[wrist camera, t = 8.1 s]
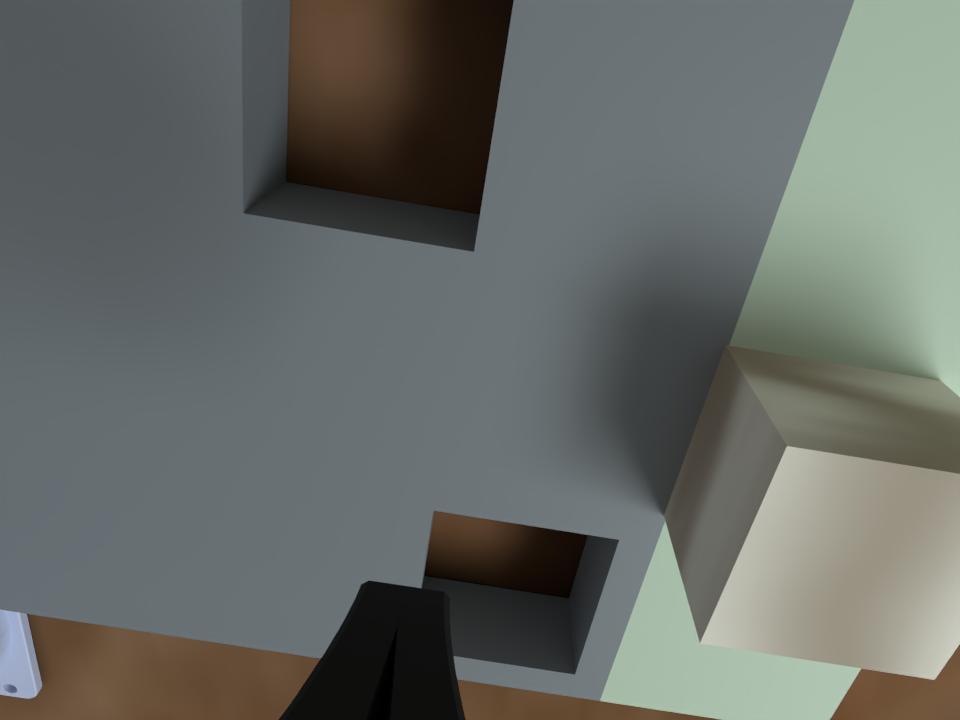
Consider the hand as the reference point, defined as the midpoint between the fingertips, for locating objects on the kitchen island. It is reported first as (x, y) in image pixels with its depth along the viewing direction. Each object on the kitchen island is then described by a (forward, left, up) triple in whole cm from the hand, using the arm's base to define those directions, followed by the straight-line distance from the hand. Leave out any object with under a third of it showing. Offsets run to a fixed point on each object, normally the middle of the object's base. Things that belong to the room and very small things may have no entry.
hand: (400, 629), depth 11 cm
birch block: (+9, +1, -6) cm, 11 cm away
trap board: (-1, +1, -9) cm, 9 cm away
